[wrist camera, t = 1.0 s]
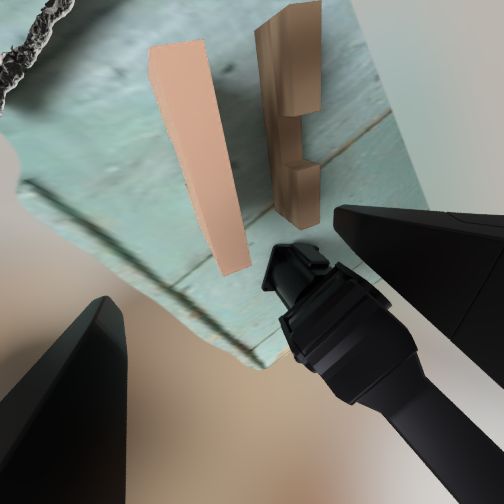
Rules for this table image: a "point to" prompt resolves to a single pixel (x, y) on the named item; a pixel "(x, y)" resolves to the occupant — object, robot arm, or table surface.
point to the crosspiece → (200, 146)
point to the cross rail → (291, 106)
